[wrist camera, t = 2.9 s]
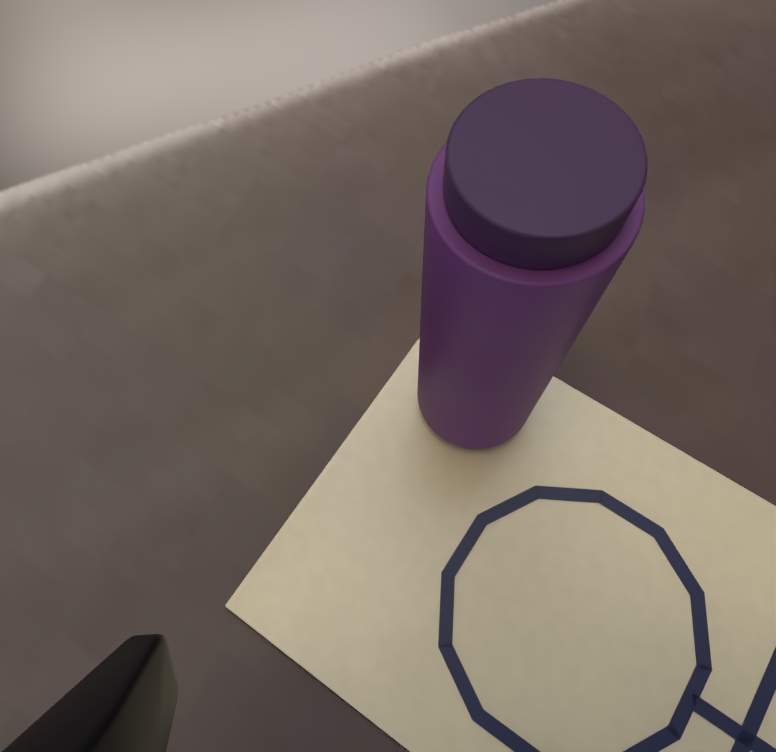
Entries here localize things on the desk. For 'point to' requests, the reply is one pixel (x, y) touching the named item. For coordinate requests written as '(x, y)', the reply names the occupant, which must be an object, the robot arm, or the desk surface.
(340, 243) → the desk surface
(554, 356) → the dot marker
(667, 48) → the desk surface
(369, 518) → the drawing sheet
